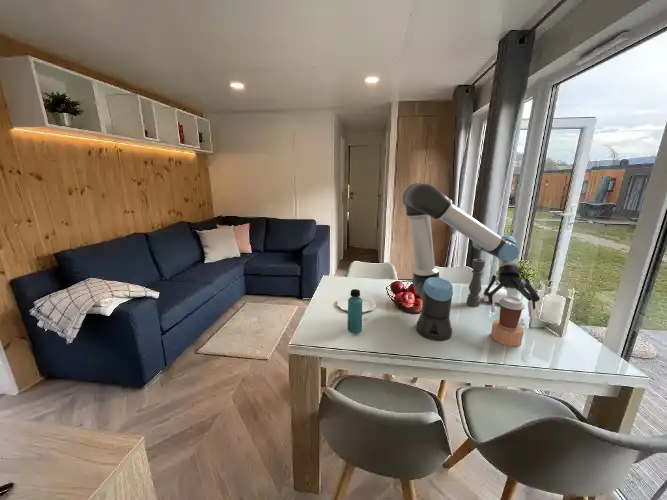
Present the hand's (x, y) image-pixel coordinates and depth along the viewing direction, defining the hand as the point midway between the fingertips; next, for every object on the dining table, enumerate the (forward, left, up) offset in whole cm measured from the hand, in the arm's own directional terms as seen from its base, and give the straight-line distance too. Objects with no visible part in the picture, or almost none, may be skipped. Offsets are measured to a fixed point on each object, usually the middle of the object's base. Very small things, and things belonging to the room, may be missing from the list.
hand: (512, 314), depth 114 cm
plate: (-41, +56, -13) cm, 71 cm away
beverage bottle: (-55, +32, -13) cm, 65 cm away
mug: (+33, +31, -13) cm, 47 cm away
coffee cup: (+2, +2, -7) cm, 7 cm away
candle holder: (+18, +32, -13) cm, 39 cm away
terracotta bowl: (+2, +2, -13) cm, 13 cm away
